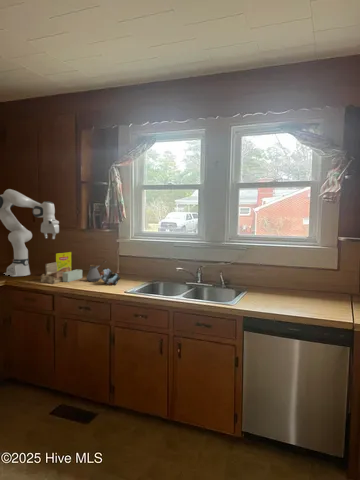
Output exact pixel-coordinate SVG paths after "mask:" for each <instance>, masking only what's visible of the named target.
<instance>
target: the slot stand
mask: <svg viewBox="0 0 360 480" xmlns="http://www.w3.org/2000/svg"><path fill="white" fill-rule="evenodd" d="M80 279H83V269H73V270H72V269H71V271H68V272H64V273H63V281H62V282H63V283H70V282H73V281H77V280H80Z"/></svg>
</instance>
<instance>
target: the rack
mask: <svg viewBox="0 0 360 480" xmlns="http://www.w3.org/2000/svg"><path fill="white" fill-rule="evenodd" d="M44 282H45V284H58V283H61V282H63V277H61V278H57V279H55V277H52V273H51V274H47V275H46V273H42V274H41V275H40V283H44Z"/></svg>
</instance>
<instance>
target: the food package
mask: <svg viewBox="0 0 360 480" xmlns="http://www.w3.org/2000/svg"><path fill="white" fill-rule="evenodd" d="M55 262H57V271H64V272H68V271H72V251H69V252H59V253H55Z"/></svg>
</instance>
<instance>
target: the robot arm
mask: <svg viewBox="0 0 360 480" xmlns="http://www.w3.org/2000/svg"><path fill="white" fill-rule="evenodd" d="M14 206H16V207H20V208H30V209H32V214H33V216H34V217H35V218H42V219H43V221H42V222H41V223H40V232H41V234H43V235H44V238H45V239H49V235H48V234H52V237H51V240H55V239H56V235H57V234H60V225H59V224H60V221H59V220H57V219H56V217H55V213H56V209H55V204H54V202H52V201H47V200H45V201H43V202H42V203H41V202H39V201H37V200H34V199H33V198H30V197H28V196H26V195H25V194H23V193H21V192H19V191H17V190H16V189H15V190H14V189H11V188H8V189H6V190H5V191H3V194H0V221H1V223H2V225H3V226H4V227H5V228H6V229H7V230H8V231H9V234H8V236H7V238H8V241H9V242H10V243H11V246H12V248H13V258H12V259H11V261H12V263H11V264H10V265H8V266H7V267H6V272H4V273H3V274H5V275H4V276H8V275H10V276H9V277H24V276H25V277H26V276H30V275H31V270H30V264H29V261H30V260H29V259H30V258H29V250H28V248H27V247H26V244H25V243H27V242H29V241H30V240H31V239H32V238H33V233H32V231H31V230H28V229H27V228H26V227H25V226H24V225H22V223H20V221H19V220H18V219H17V217H16V216H15V215H14V213H13V212H12V210H11V208H14Z"/></svg>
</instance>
